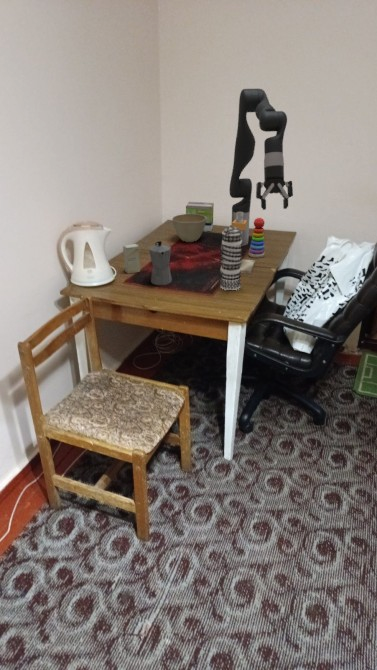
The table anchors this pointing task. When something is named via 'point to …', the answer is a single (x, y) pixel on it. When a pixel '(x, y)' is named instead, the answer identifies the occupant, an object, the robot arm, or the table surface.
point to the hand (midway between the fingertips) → (274, 209)
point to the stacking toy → (257, 239)
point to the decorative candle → (231, 258)
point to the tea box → (202, 212)
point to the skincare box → (131, 258)
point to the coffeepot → (160, 264)
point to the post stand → (244, 264)
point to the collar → (240, 225)
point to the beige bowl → (189, 226)
